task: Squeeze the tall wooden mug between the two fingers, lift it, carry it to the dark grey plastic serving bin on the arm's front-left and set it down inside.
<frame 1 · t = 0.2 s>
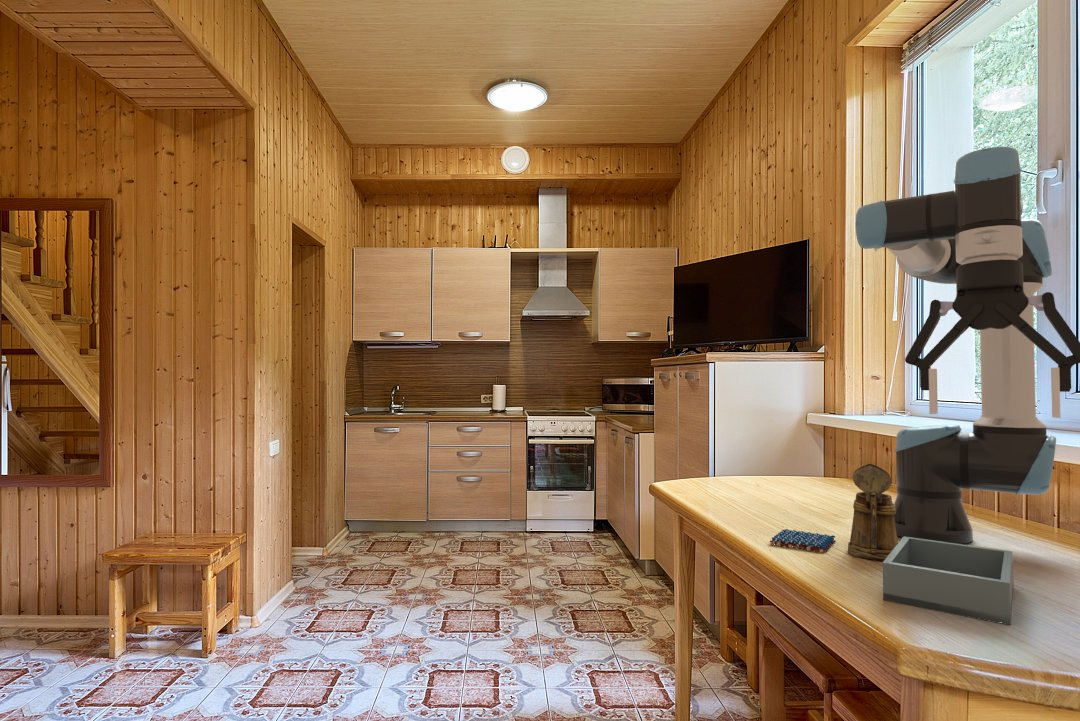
hand: (991, 415, 85), 28 cm above the table, tool pointing down, fingers open, 13 cm apart
serving bin: (950, 592, 94), on the table
wooden mug: (873, 558, 113), on the table
woven mat: (802, 547, 123), on the table
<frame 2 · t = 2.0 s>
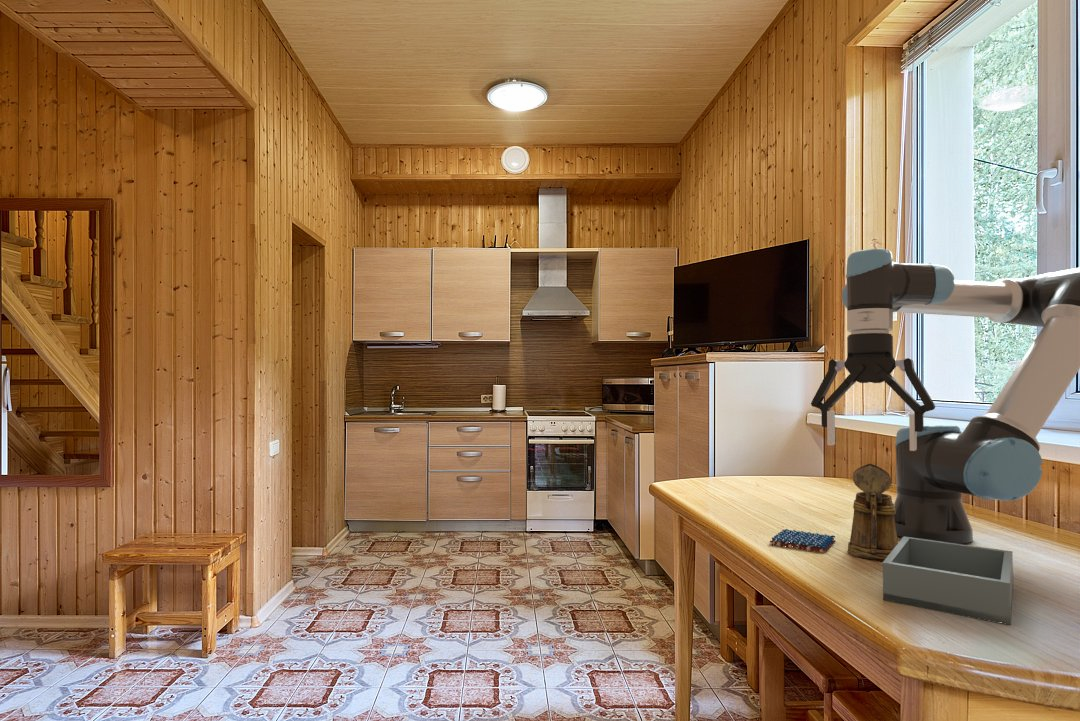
hand: (870, 447, 114), 20 cm above the table, tool pointing down, fingers open, 13 cm apart
nothing on the table moved.
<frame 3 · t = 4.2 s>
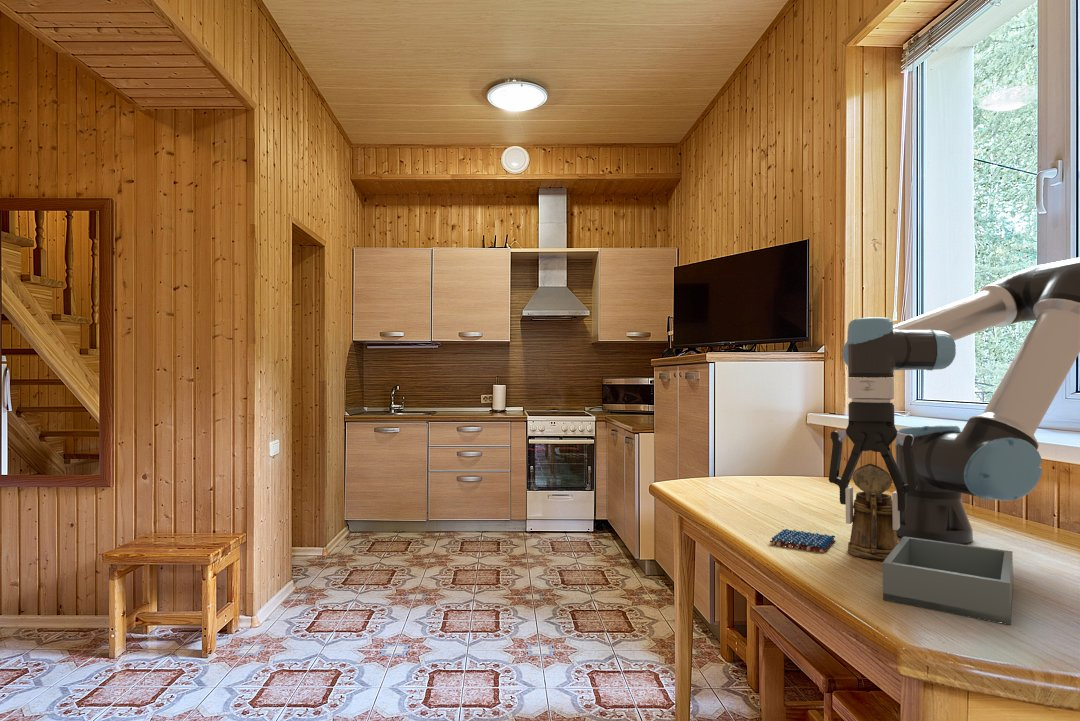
hand: (872, 525, 113), 6 cm above the table, tool pointing down, fingers closed on wooden mug, 7 cm apart
wooden mug: (873, 558, 113), on the table, touching gripper
everything else where it was.
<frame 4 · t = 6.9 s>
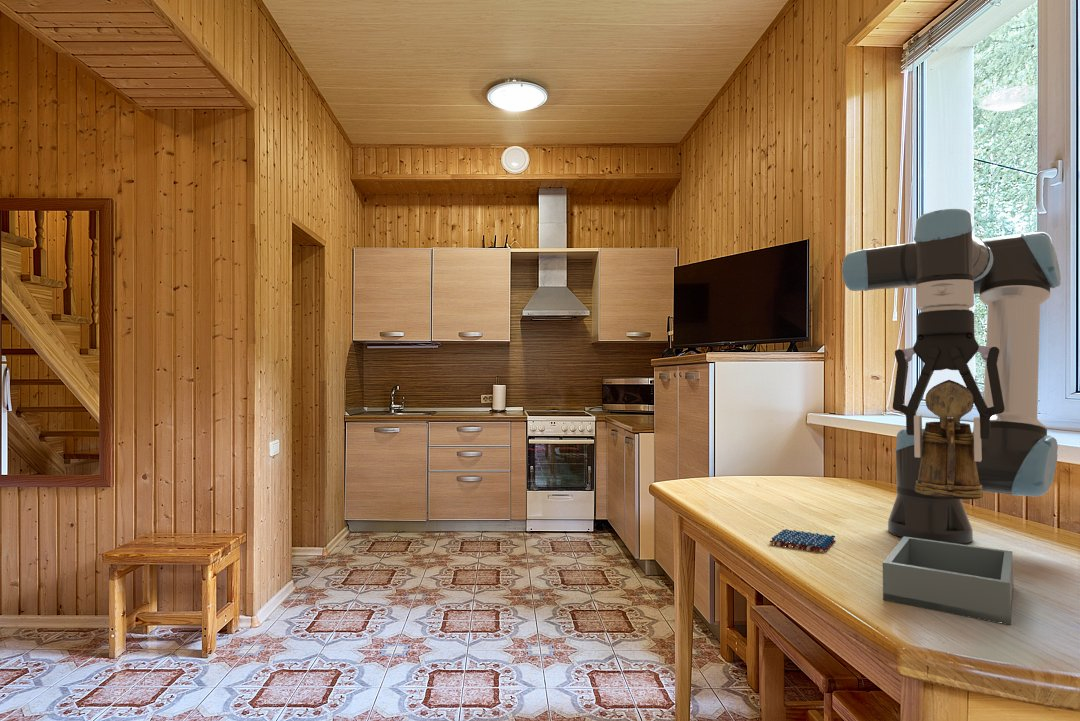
hand: (947, 458, 95), 21 cm above the table, tool pointing down, fingers closed on wooden mug, 7 cm apart
wooden mug: (948, 497, 95), point 14 cm above the table, touching gripper
everything else where it was.
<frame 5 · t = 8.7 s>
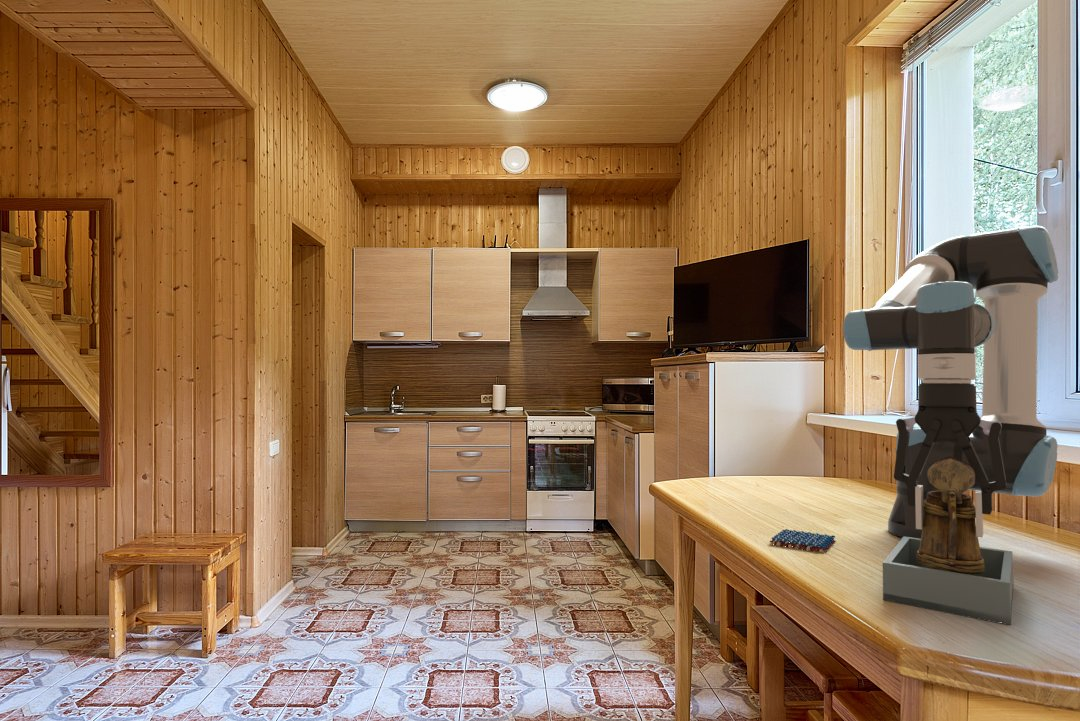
hand: (949, 531, 94), 9 cm above the table, tool pointing down, fingers closed on wooden mug, 7 cm apart
wooden mug: (950, 571, 94), point 3 cm above the table, touching gripper
everything else where it was.
when the fingers open (8 cm above the table, at t = 9.9 s): wooden mug drops 1 cm, resting on serving bin.
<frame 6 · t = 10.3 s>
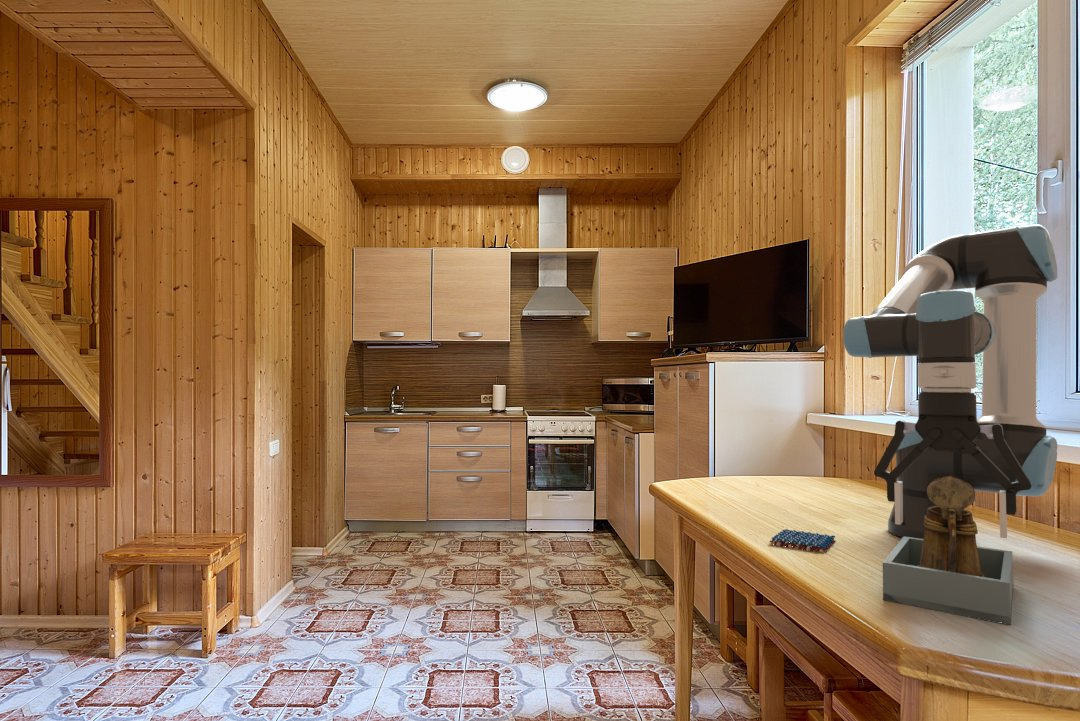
hand: (949, 529, 94), 10 cm above the table, tool pointing down, fingers open, 13 cm apart
wooden mug: (950, 587, 94), point 1 cm above the table, touching serving bin
everything else where it was.
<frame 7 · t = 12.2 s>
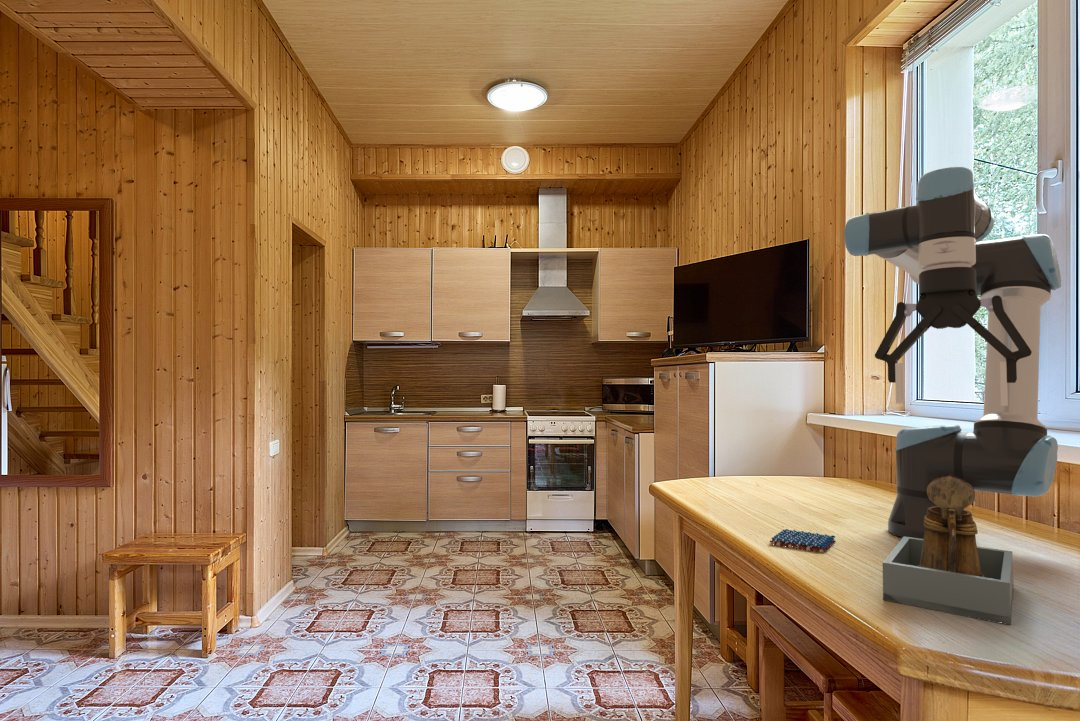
hand: (949, 404, 96), 29 cm above the table, tool pointing down, fingers open, 13 cm apart
nothing on the table moved.
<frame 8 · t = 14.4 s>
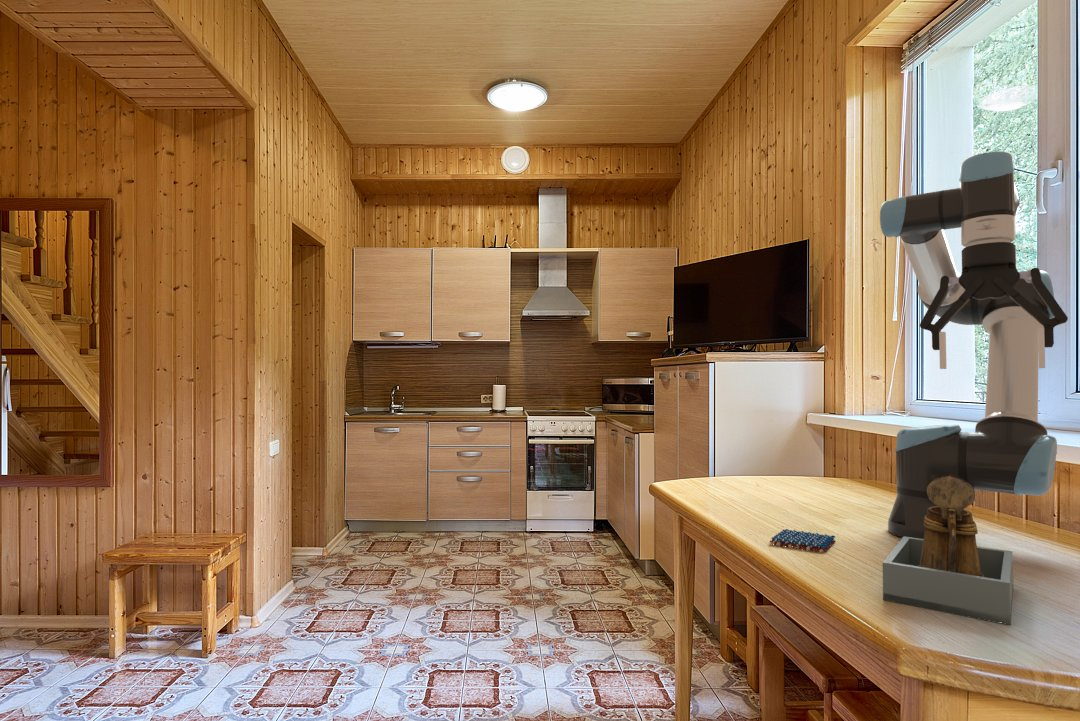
hand: (990, 368, 105), 35 cm above the table, tool pointing down, fingers open, 13 cm apart
nothing on the table moved.
at the end: wooden mug inside the target area on the serving bin (0.1 cm from its centre), point 0.8 cm above the serving bin's base; wooden mug tilted 0°; the gripper is holding nothing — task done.
